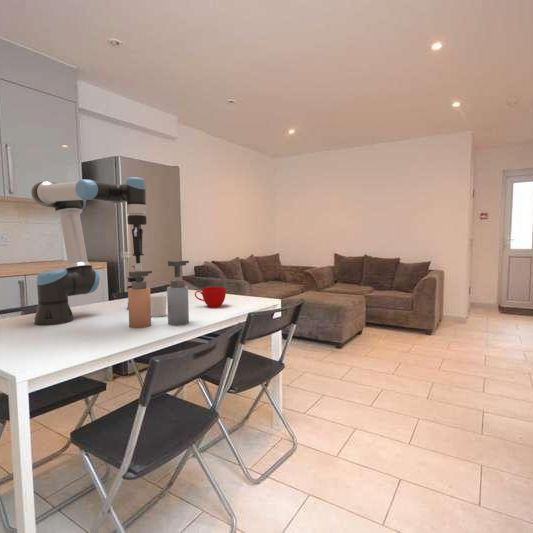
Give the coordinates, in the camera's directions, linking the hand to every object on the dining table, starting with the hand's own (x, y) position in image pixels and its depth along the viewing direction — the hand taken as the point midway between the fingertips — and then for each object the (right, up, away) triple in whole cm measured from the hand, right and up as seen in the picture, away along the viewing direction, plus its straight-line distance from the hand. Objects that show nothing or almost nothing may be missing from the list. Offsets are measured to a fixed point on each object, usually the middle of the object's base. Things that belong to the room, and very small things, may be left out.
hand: (138, 270), depth 152 cm
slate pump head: (+16, -3, +6) cm, 17 cm away
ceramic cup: (+24, -20, +45) cm, 55 cm away
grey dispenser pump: (+1, -7, +2) cm, 7 cm away
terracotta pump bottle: (0, -24, +2) cm, 24 cm away
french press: (-15, -21, +40) cm, 48 cm away
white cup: (+2, -22, +22) cm, 31 cm away
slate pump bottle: (+15, -23, +6) cm, 29 cm away
